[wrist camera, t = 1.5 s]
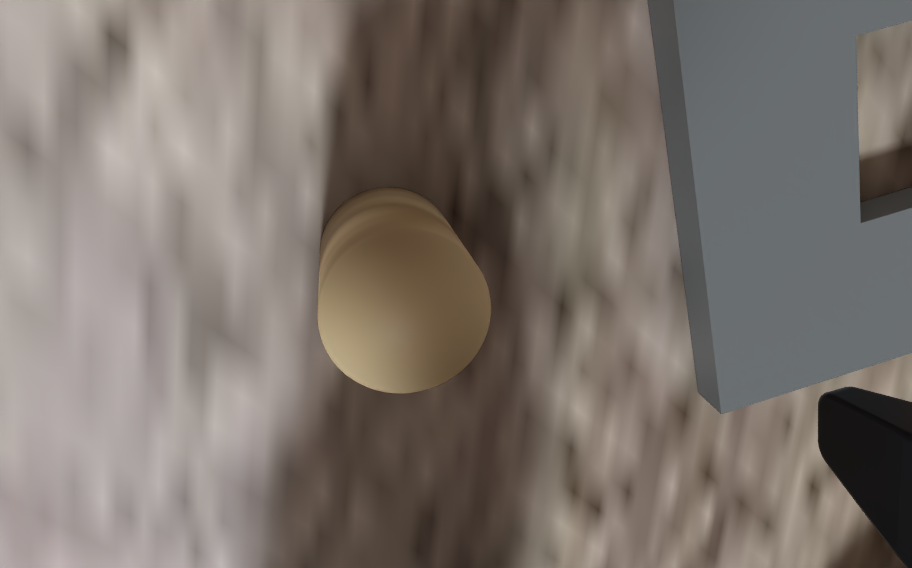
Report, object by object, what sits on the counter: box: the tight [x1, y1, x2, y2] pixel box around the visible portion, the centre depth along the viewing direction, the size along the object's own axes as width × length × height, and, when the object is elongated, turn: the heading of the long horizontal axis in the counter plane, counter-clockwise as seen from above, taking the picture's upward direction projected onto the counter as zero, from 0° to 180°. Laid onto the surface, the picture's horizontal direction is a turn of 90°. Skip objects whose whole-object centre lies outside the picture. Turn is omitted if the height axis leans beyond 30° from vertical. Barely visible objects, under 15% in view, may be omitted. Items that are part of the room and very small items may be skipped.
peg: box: [318, 187, 491, 393], centre depth 18 cm, size 4×4×5 cm
